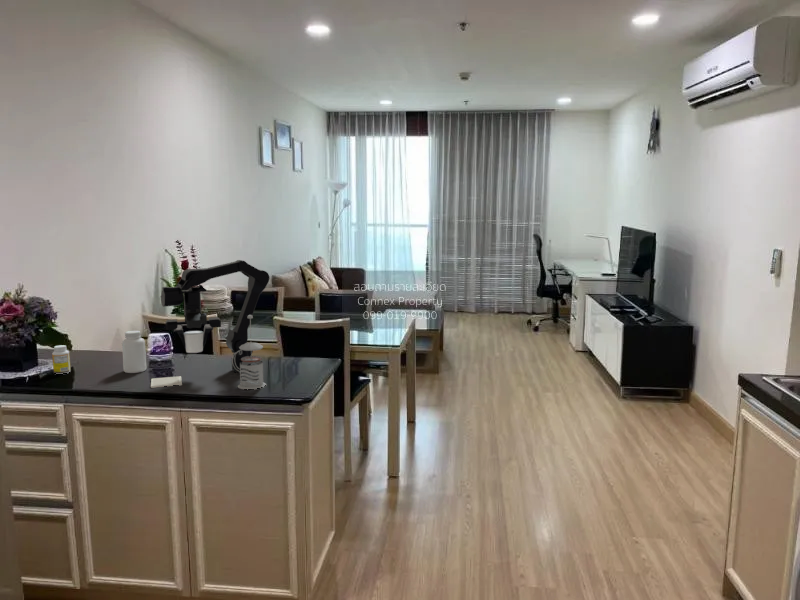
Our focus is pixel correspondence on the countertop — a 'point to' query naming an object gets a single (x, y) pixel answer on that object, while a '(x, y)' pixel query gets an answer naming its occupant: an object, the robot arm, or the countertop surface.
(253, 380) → the french press
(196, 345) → the shot glass
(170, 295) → the robot arm
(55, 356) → the supplement bottle
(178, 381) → the coaster
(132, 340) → the pill bottle
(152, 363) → the countertop surface
